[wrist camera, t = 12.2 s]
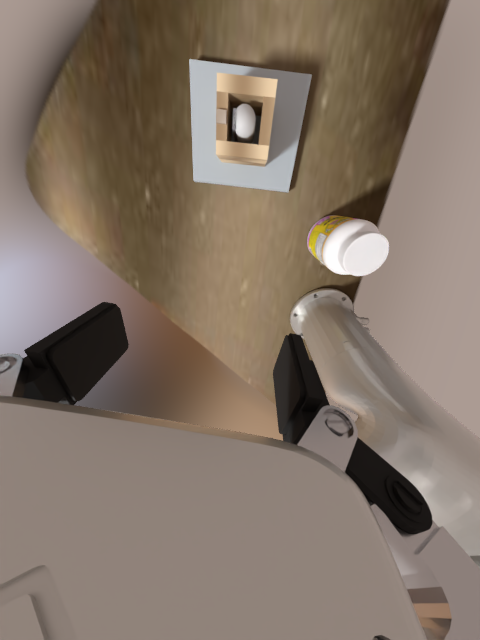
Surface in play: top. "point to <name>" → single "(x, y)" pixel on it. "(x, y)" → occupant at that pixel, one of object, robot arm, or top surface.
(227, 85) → the wooden hollow box
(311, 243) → the supplement bottle
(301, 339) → the robot arm
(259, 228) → the top surface
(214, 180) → the shaft block
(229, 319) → the top surface
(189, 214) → the top surface
